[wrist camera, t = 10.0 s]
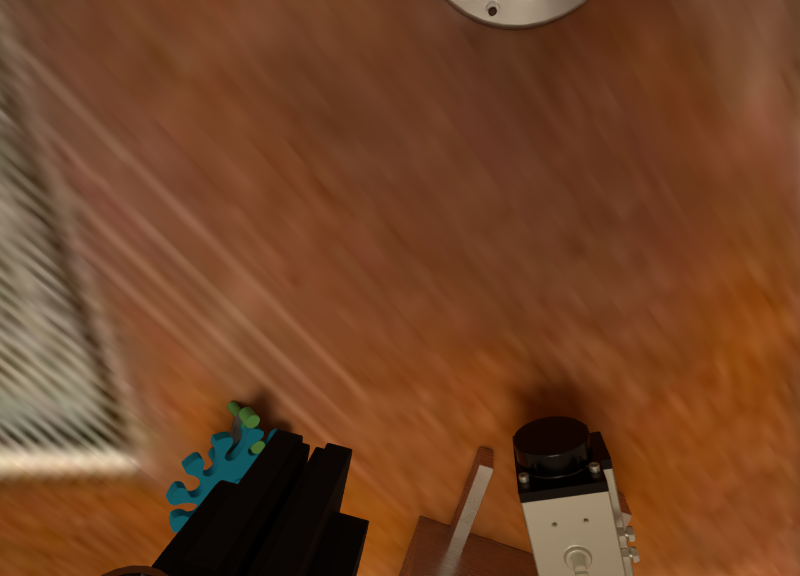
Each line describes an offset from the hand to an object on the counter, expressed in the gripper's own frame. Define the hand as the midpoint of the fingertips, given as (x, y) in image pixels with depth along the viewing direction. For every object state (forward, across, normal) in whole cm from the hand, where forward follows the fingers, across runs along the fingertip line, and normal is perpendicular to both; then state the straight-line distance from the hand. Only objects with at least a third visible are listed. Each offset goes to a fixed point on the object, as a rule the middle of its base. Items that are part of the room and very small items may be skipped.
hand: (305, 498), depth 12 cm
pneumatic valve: (+28, -13, +12) cm, 33 cm away
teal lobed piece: (+28, +10, +19) cm, 35 cm away
